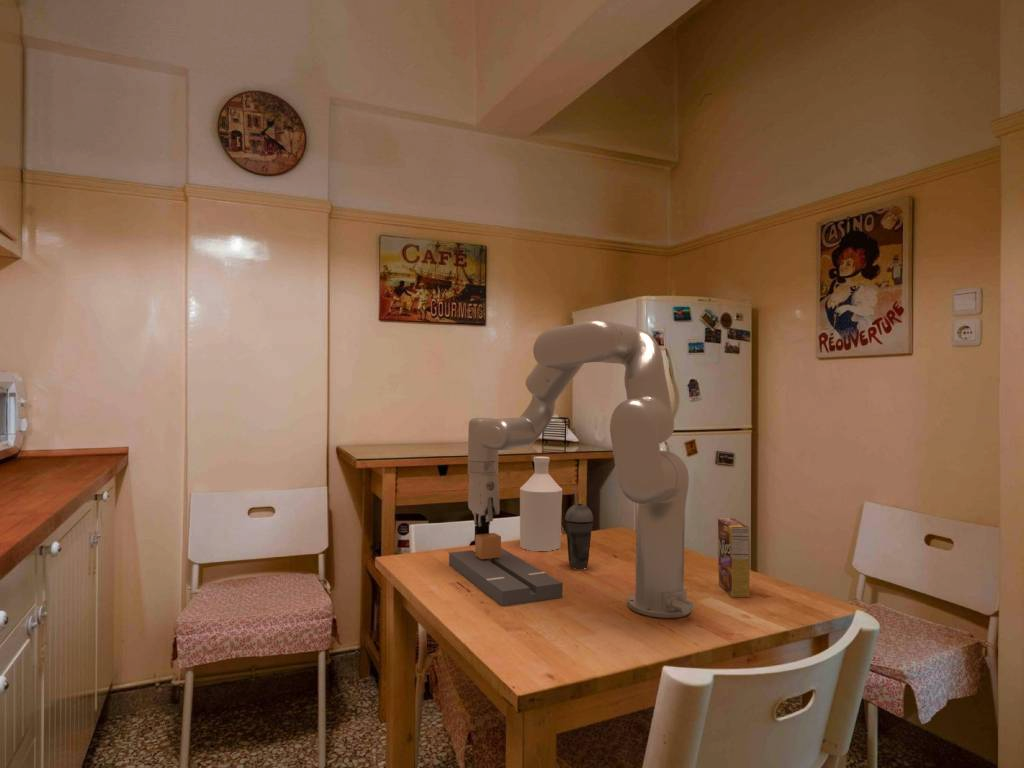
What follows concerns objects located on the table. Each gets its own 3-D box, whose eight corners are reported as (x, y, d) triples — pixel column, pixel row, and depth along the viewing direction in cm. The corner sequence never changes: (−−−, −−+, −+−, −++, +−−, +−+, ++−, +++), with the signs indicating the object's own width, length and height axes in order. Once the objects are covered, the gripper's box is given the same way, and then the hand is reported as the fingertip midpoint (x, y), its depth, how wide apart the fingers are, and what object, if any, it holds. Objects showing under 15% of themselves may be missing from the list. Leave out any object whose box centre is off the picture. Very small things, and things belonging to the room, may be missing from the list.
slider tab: (500, 563, 147) (501, 536, 147) (481, 566, 145) (481, 538, 145) (493, 559, 150) (494, 532, 151) (475, 561, 148) (475, 534, 148)
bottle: (557, 553, 164) (559, 460, 164) (514, 550, 167) (516, 458, 167) (564, 543, 176) (565, 456, 176) (524, 540, 178) (525, 454, 179)
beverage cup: (594, 571, 148) (596, 488, 148) (564, 571, 148) (565, 488, 148) (591, 563, 155) (592, 484, 155) (562, 562, 155) (564, 483, 156)
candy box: (716, 584, 139) (717, 517, 140) (735, 585, 139) (736, 517, 140) (730, 597, 130) (730, 526, 131) (750, 598, 130) (751, 526, 131)
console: (562, 597, 129) (562, 582, 129) (502, 606, 123) (502, 590, 123) (500, 558, 158) (500, 546, 158) (448, 564, 152) (449, 552, 152)
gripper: (509, 470, 146) (508, 547, 146) (485, 463, 160) (484, 534, 160) (480, 472, 143) (479, 550, 143) (458, 464, 157) (457, 536, 156)
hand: (481, 541), depth 151 cm, fingers closed
